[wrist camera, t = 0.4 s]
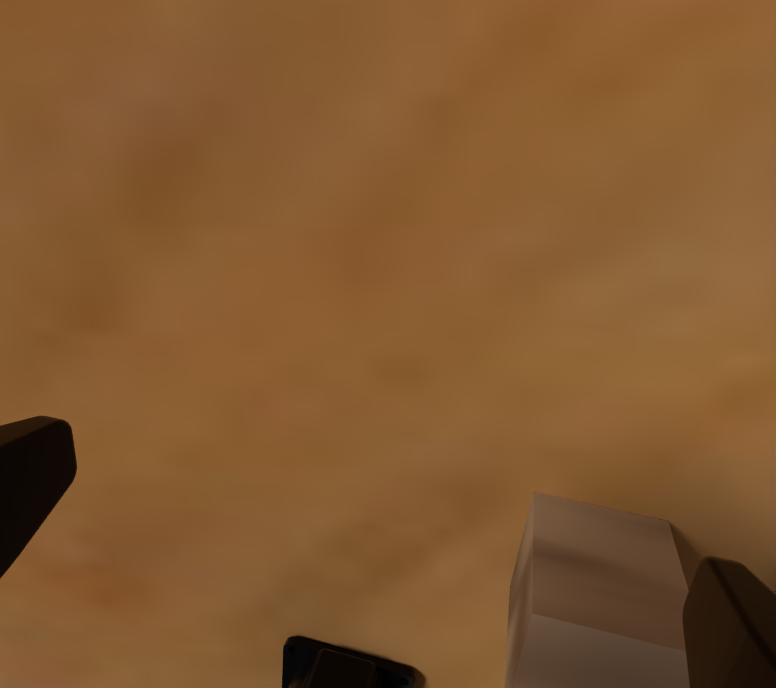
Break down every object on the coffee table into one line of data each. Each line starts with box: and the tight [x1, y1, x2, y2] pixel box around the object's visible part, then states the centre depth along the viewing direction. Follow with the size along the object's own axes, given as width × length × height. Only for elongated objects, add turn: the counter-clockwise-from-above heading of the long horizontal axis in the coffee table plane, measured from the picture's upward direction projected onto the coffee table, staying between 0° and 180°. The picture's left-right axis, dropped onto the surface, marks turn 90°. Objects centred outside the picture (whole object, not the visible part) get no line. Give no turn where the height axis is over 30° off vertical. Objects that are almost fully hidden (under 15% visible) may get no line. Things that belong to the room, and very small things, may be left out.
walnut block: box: [505, 492, 690, 688], centre depth 22 cm, size 5×5×6 cm
